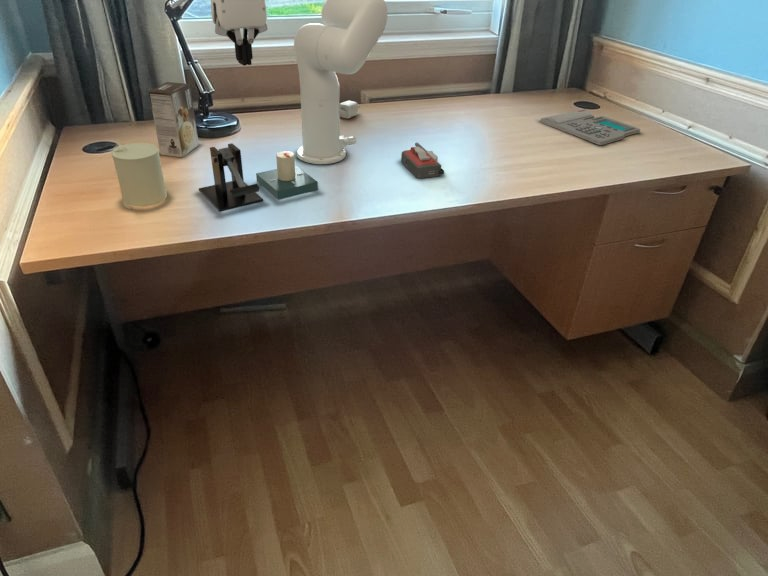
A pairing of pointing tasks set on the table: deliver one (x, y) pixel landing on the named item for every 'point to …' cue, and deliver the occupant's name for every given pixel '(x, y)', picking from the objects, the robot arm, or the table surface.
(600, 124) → the office telephone
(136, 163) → the can
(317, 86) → the robot arm
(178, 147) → the coffee box
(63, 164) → the table surface
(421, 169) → the walkie-talkie
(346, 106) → the usb wall charger
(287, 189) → the dial panel
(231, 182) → the pivoting lever stand
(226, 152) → the lever
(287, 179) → the dial
